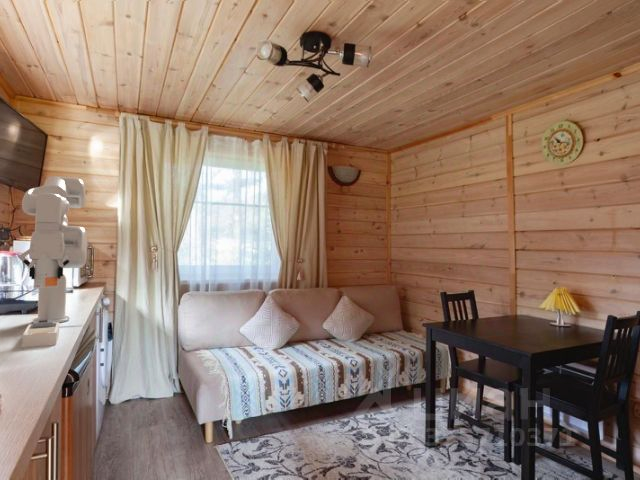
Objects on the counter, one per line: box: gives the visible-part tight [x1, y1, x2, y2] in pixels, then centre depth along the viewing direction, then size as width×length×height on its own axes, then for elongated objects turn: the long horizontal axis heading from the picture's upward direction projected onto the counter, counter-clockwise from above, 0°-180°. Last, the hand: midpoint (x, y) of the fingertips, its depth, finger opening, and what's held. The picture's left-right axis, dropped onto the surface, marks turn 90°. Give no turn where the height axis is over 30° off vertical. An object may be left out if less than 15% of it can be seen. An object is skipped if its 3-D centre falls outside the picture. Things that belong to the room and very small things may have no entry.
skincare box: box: [33, 254, 59, 289], centre depth 139 cm, size 6×4×12 cm
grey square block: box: [32, 319, 53, 329], centre depth 138 cm, size 6×6×5 cm
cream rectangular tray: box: [21, 322, 60, 349], centre depth 135 cm, size 18×9×4 cm, turn 31°
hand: (46, 278), depth 138 cm, fingers closed on skincare box, 7 cm apart
